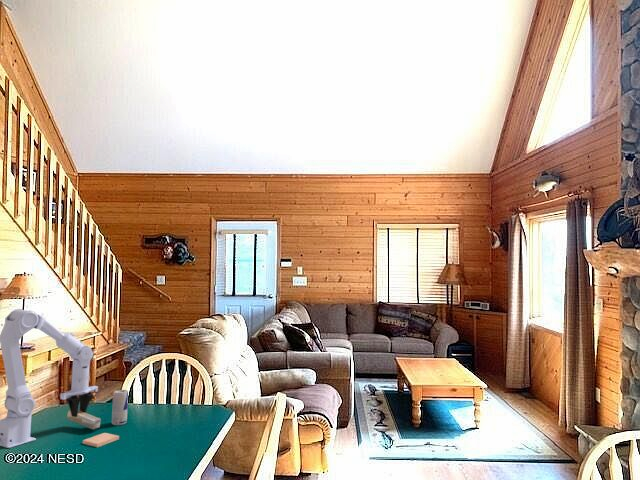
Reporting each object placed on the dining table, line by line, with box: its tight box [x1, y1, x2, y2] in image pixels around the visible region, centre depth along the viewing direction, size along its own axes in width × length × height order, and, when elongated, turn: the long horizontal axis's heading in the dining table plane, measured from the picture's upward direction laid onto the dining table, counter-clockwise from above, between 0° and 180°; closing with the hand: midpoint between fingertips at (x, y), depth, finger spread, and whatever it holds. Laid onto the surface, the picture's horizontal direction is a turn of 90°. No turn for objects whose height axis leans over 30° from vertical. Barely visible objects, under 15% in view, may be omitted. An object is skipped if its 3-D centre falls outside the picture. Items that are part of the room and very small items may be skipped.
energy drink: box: [111, 389, 129, 426], centre depth 189 cm, size 5×5×12 cm
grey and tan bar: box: [66, 409, 102, 430], centre depth 181 cm, size 3×14×3 cm, turn 64°
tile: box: [82, 432, 120, 448], centre depth 169 cm, size 9×2×7 cm
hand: (78, 415), depth 183 cm, fingers closed on grey and tan bar, 3 cm apart
